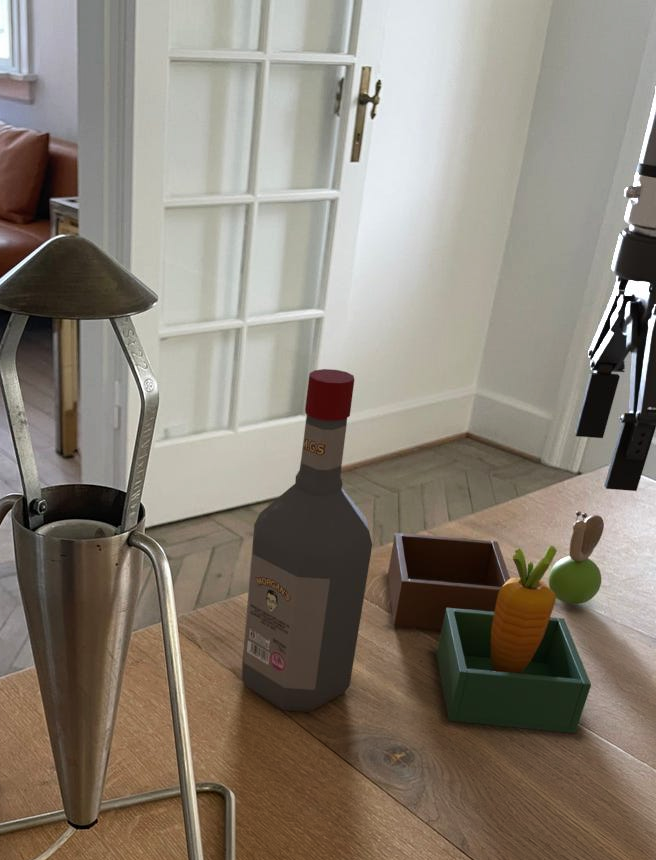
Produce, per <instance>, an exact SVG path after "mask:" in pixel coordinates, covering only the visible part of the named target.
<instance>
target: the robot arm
mask: <svg viewBox="0 0 656 860" xmlns="http://www.w3.org/2000/svg"><path fill="white" fill-rule="evenodd" d="M655 90H656V87H655ZM623 196H624V197H625V198H626V199H628V203H627V206H626V210H625V215H624V221H625V223H627V224H628V227H625V228H624V229H623V230H622V231H620V232H619V236H618V239H617V244H616V247H615V251H614V254H613V259H612V263H611V271H612V273H613V274H614V275H615V276H616V281H615V284H614V288H613V291H612V294H611V297H610V299H609V301H608V303H607V305H606V309H605V311H604V313H603V316H602V319H601V321H600V323H599V325H598V328H597V331H596V333H595V335H594V337H593V339H592V342H591V344H590V347H589V349H588V351H587V358H588V359H589V360H590V363H589V367H590V371H593V372H589V376H588V380H587V384H586V388H585V393H584V396H583V400H582V402H581V407H580V411H579V415H578V419H577V423H576V426H575V430H574V435H575V437H579V438H593V439H594V438H595V439H603V438H604V436H605V432H606V428H607V425H608V421H609V418H610V414H611V410H612V407H613V403H614V399H615V395H616V392H617V389H618V384H619V382H620V378H621V377H620V375H619V374H618V373H625V367H626V365H625V359H626V358H627V356H628V355H629V353H630V354H631V360H630V361H631V363H630V378H629V379H630V381H629V399H628V402H629V403H628V412H624V413H623V414H622V415H621V416H620V417H619V422H620V423H621V425H620V429H619V431H618V435H617V440H616V443H615V446H614V451H613V452H612V453H613V454H612V457H611V461H610V464H609V468H608V471H607V474H606V479H605V482H604V485H603V486H604V488H605V489H606V490H617V491H629V492H638V488H639V485H640V481H641V478H642V474H643V471H644V468H645V464H646V461H647V458H648V454H649V452H650V449H651V445H652V442H653V438H654V435H655V431H656V91H655V93H654V97H653V101H652V106H651V109H650V114H649V118H648V122H647V126H646V132H645V134H644V139H643V143H642V148H641V153H640V157H639V161H638V163H637V167H636V172H635V175H634V180H633V185H629V186H627V187H625V189H624V194H623ZM649 408H650V409H649Z"/></svg>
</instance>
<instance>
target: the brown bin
mask: <svg viewBox="0 0 656 860" xmlns="http://www.w3.org/2000/svg"><path fill="white" fill-rule="evenodd" d="M389 559H390V560H389V565H388V570H387V580H388V589H389V597H390V606H391V613H392V622H393V626H394V627H397V628H398V627H400V628H410V629H420V630H430V631H431V630H432V631H441V630H442V625H443V621H444V616H445V611H446V608H453V609H454V608H455V609H466V610H477V611H488V612H495V607H496V602H497V597H498V593H499V591H500V589H501V587H502V586H503V585H504V584H505V583H506V582H507V581H508V580H509V579H511V577H510V574H509V571H508V568H507V565H506V563H505V559H504V556H503V554H502V550H501V547H500V544H499V542H498V541H495V540H484V539H473V538H472V539H470V538H460V537H448V536H437V535H425V534H414V533H413V534H412V533H401V532H395V533H394V536H393V542H392V548H391V554H390V558H389Z"/></svg>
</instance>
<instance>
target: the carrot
mask: <svg viewBox="0 0 656 860" xmlns="http://www.w3.org/2000/svg"><path fill="white" fill-rule="evenodd" d="M557 552H558V550H557V549H556V547H555V546H554V545H548V546H547V549H546V551H545V553H544V554H543V556H542V559H540V560H539V561H538V562H537V564H536V565H535V566H534V563H533V562H532V561H530V562H528V563H527V561H526V558H525V554H524V552H523V550H522V548H520V547H518V548H516V549H515V550H514V554H513V555H512V560H513V562H514V564H515V568H516V570H517V572H518V576H519V577H510V579H509V580H508V581H507V582H506V583H505V584H504V585H503V586H502V587H501V589H500V591H499V593H498V597H497V602H496V607H495V612H494V617H493V623H492V629H491V660H492V665H493V670H494V671H496V672H507V673H517V674H521V673H522V672H523V671H524V669H525V668H526V667H527V665H528V664H529V663H530V661H531V659H532V658H533V656H534V654H535V652H536V650H537V648H538V646H539V644H540V642H541V640H542V638H543V636H544V633H545V631H546V628H547V625H548V622H549V619H550V617H552V613H553V609H554V606H555V604H556V597H555V594H554V592H553V591H552V590H551V589H550V587H549V585H548V584H547V583H546V582H545V581H543V580H542V578H543V577H544V576H545V573H546V572H547V571H548V569H549V568H550V565H551V564H552V562H553V560H554V558H555V556H556V554H557Z"/></svg>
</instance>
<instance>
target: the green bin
mask: <svg viewBox="0 0 656 860" xmlns="http://www.w3.org/2000/svg"><path fill="white" fill-rule="evenodd" d="M493 617H494V612H488V611H477V610H466V609H455V608H454V609H453V608H446V611H445V616H444V621H443V625H442V630H440V635H439V639H438V644H437V649H436V653H435V654H436V659H437V664H438V669H439V675H440V680H441V685H442V691H443V696H444V701H445V707H446V713H447V718H448V721H449V722H459V723H468V724H477V725H486V726H487V725H488V726H499V727H507V728H517V729H527V730H535V731H536V730H537V731H547V732H555V733H556V732H557V733H566V734H567V733H568V734H576V733H577V730H578V727H579V724H580V720H581V717H582V714H583V712H584V708H585V706H586V703H587V699H588V696H589V693H590V690H591V687H592V683H591V681H590V677H589V675H588V673H587V671H586V669H585V666H584V663H583V661H582V659H581V656H580V653H579V651H578V649H577V646H576V644H575V642H574V641H575V640H574V639H573V637H572V634H571V631H570V629H569V626H568V623H567V622H566V620H565V618H563V617H553V616H550V619H549V622H548V625H547V628H546V631H545V633H544V636H543V638H542V640H541V642H540V644H539V646H538V648H537V650H536V652H535V654H534V656H533V658H532V659H531V661H530V663H529V664H528V665H527V667H526V668H525V669H524V671H523V672H522V673H521V674H517V673H507V672H496V671H494V670H493V665H492V660H491V629H492V623H493Z"/></svg>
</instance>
